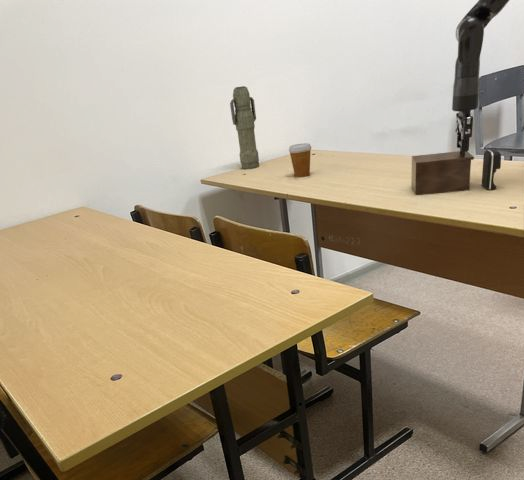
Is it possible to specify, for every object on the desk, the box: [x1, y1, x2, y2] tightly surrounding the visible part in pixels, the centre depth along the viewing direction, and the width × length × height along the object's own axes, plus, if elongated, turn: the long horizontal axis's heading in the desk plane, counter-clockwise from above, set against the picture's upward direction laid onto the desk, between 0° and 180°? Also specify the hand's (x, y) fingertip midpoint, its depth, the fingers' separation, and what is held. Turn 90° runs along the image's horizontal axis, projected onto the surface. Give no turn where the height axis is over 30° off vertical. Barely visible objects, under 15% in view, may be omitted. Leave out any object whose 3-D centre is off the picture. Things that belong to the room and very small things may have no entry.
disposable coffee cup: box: [288, 142, 312, 178], centre depth 221 cm, size 10×10×12 cm
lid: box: [411, 140, 475, 165], centre depth 172 cm, size 18×12×5 cm
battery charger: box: [481, 149, 502, 190], centre depth 168 cm, size 7×4×11 cm, turn 176°
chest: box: [410, 159, 472, 196], centre depth 175 cm, size 17×12×9 cm
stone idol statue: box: [229, 85, 260, 170], centre depth 247 cm, size 9×12×35 cm
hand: (462, 149), depth 171 cm, fingers open, 7 cm apart
